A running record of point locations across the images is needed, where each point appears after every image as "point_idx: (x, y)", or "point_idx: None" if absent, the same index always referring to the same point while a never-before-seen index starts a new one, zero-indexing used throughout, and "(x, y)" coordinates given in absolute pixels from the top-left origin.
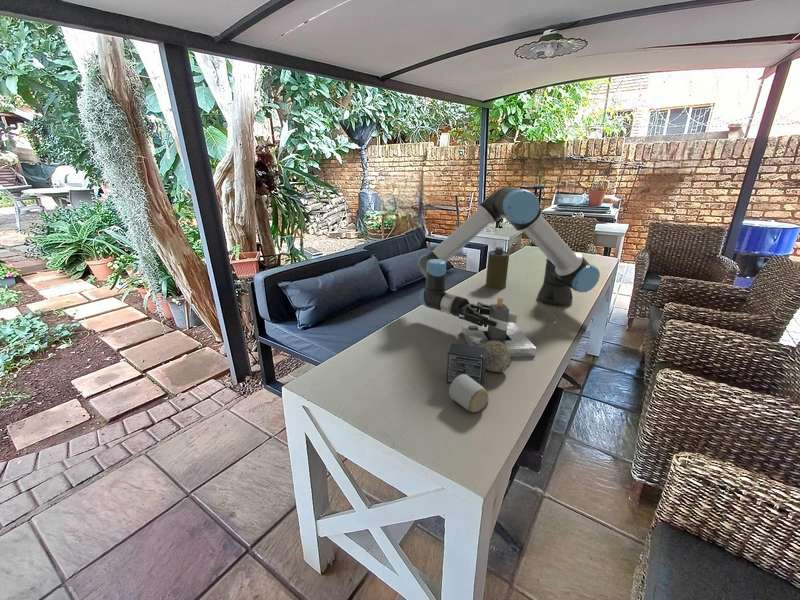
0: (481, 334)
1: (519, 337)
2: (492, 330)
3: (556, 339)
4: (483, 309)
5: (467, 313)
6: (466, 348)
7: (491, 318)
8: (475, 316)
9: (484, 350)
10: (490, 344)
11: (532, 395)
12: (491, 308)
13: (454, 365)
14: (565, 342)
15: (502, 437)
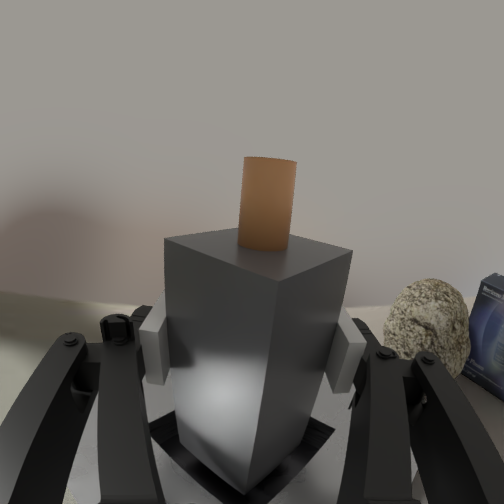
0: (302, 499)
1: None
2: (312, 401)
3: (88, 319)
4: (155, 489)
5: (495, 484)
6: None
7: (354, 329)
8: (453, 406)
9: (489, 278)
10: (458, 293)
11: (386, 310)
12: (307, 293)
13: None
14: (101, 306)
15: (468, 303)
